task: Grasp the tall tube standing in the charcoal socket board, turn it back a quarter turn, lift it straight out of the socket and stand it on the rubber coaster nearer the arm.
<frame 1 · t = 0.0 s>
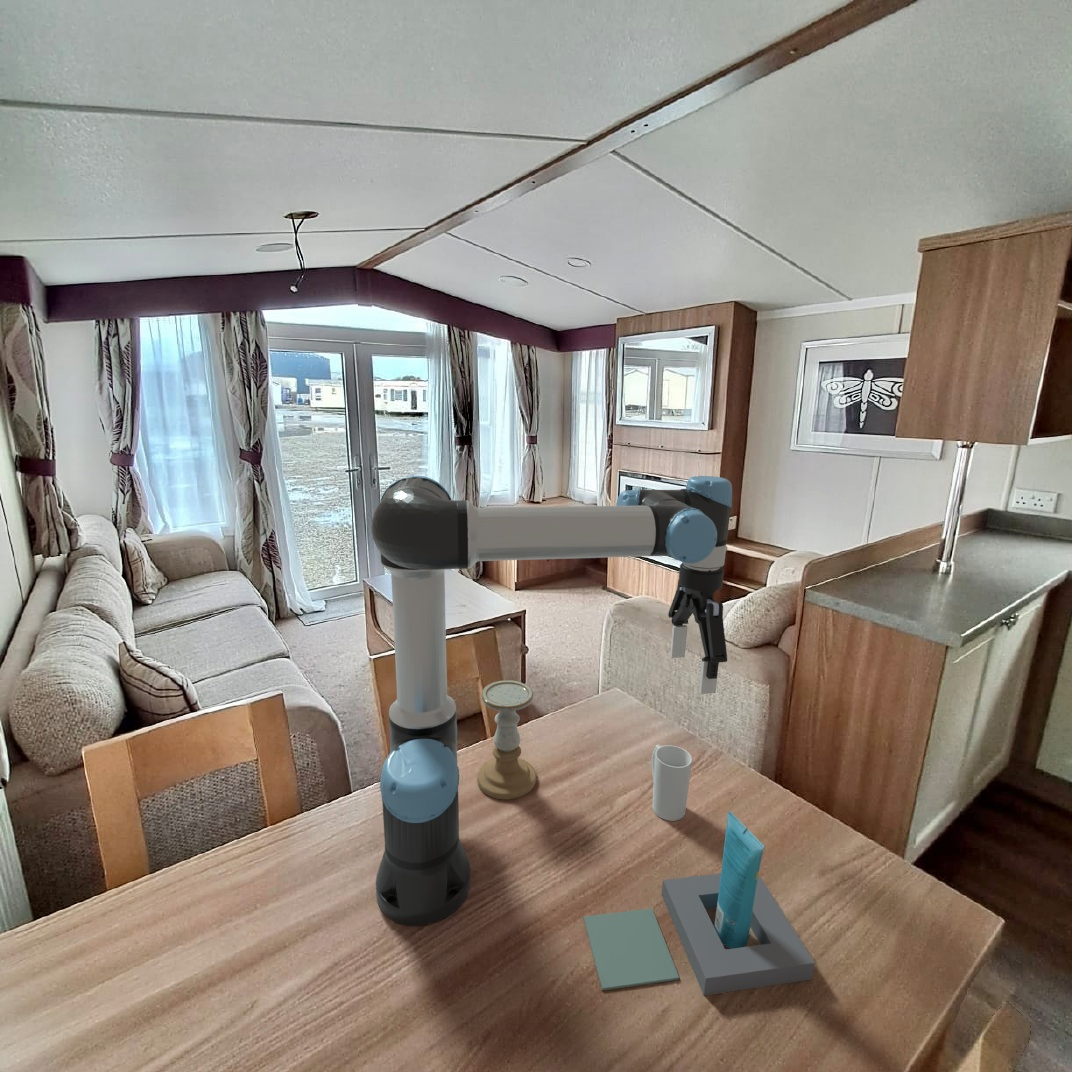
hand: (691, 673, 107), 28 cm above the table, fingers open, 13 cm apart
socket board: (731, 934, 87), on the table
coaster: (628, 947, 85), on the table
candle holder: (506, 780, 120), on the table
tube: (731, 935, 87), resting in socket board
mug: (663, 804, 114), on the table
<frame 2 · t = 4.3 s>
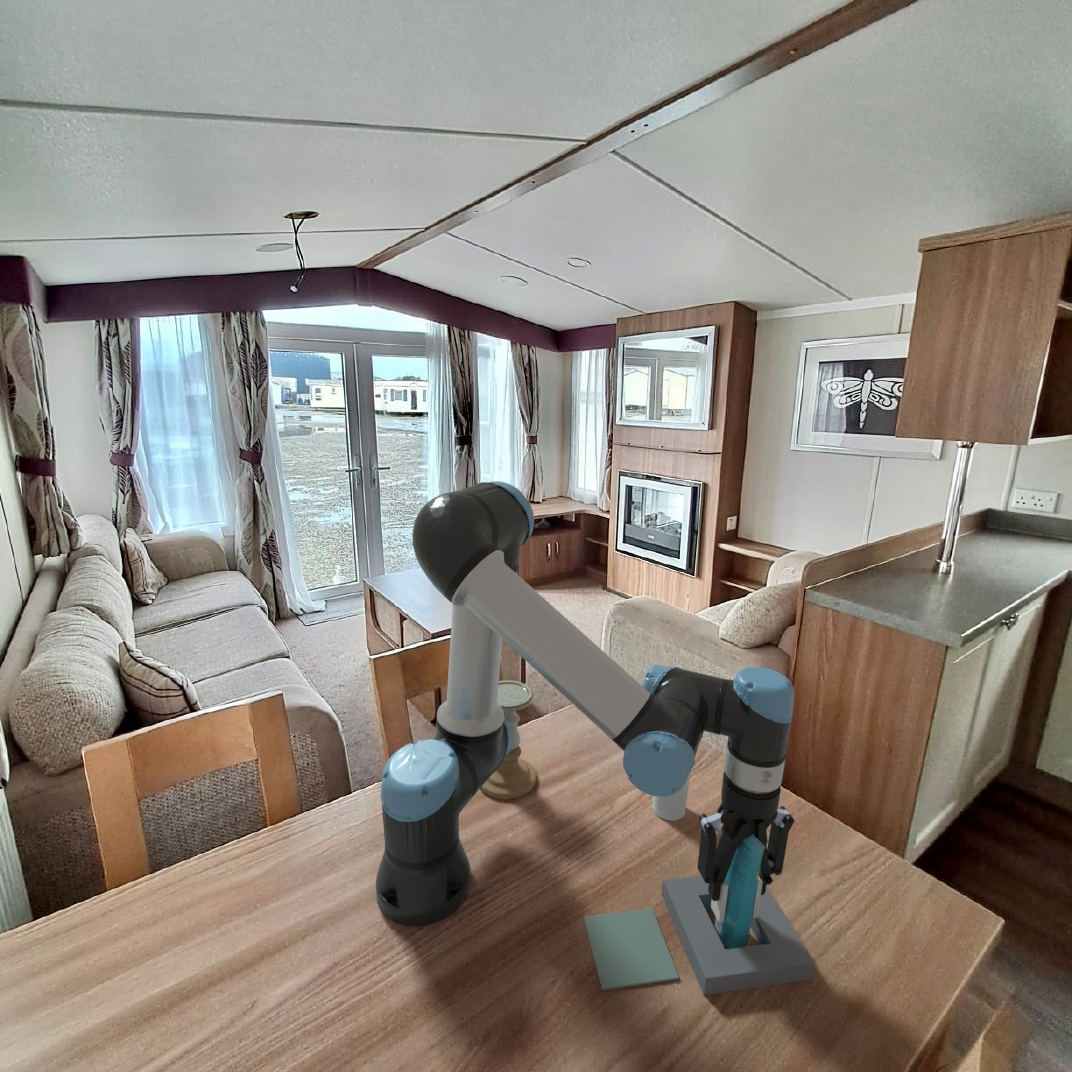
hand: (733, 911, 86), 4 cm above the table, fingers closed on tube, 5 cm apart
tube: (731, 935, 87), resting in socket board, touching gripper
everything else where it was.
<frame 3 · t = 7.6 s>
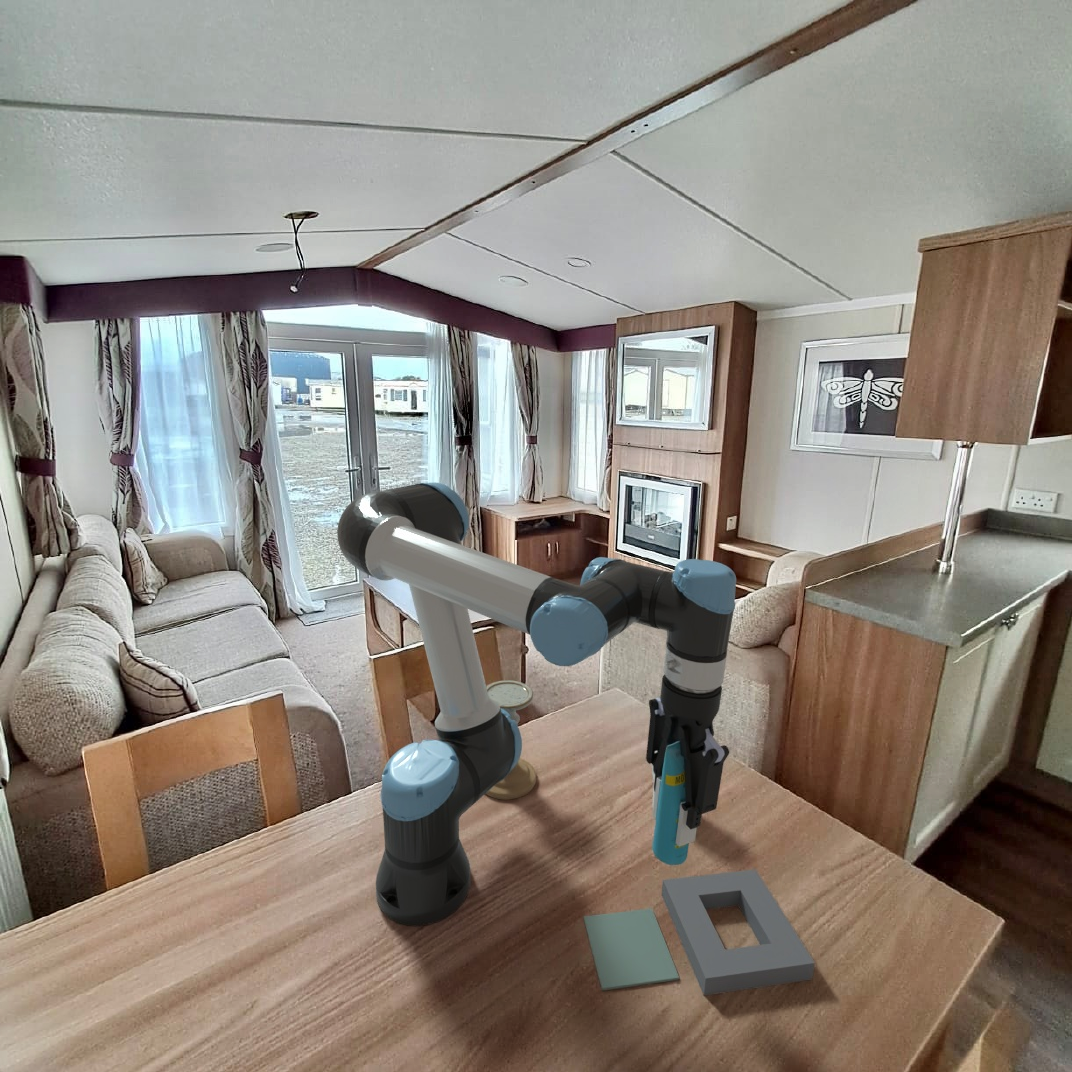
hand: (673, 827, 81), 20 cm above the table, fingers closed on tube, 5 cm apart
tube: (670, 853, 82), point 15 cm above the table, touching gripper
everything else where it was.
when the fingers open (6 cm above the table, at t = 11.0 s): tube drops 1 cm, resting on coaster.
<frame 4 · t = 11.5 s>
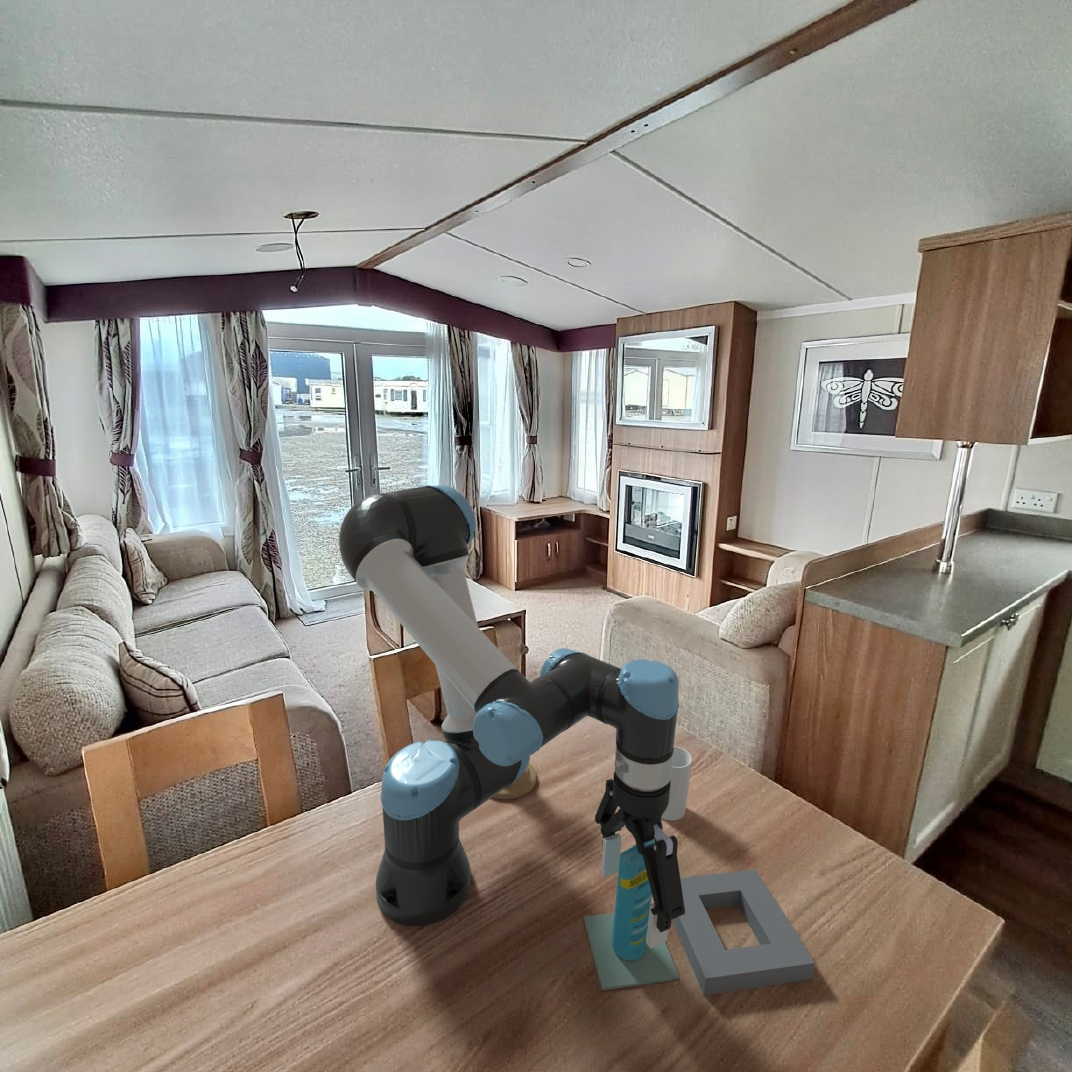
hand: (632, 905, 83), 8 cm above the table, fingers open, 11 cm apart
tube: (629, 946, 84), resting on coaster
everything else where it was.
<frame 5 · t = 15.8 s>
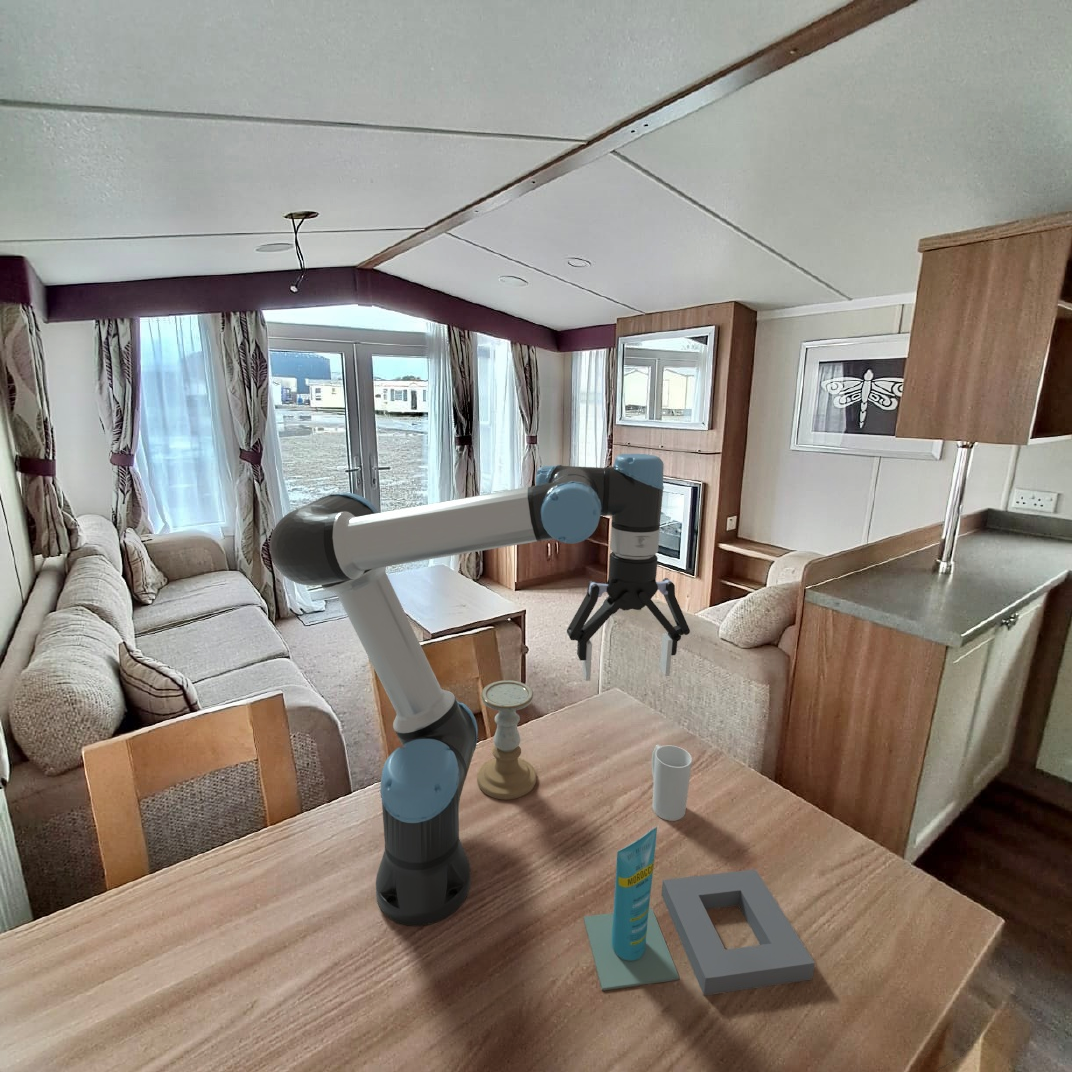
hand: (625, 674, 97), 33 cm above the table, fingers open, 13 cm apart
nothing on the table moved.
at the end: tube inside the target area on the coaster (0.1 cm from its centre), point 0.2 cm above the coaster's base; tube tilted 1°; the gripper is holding nothing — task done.
